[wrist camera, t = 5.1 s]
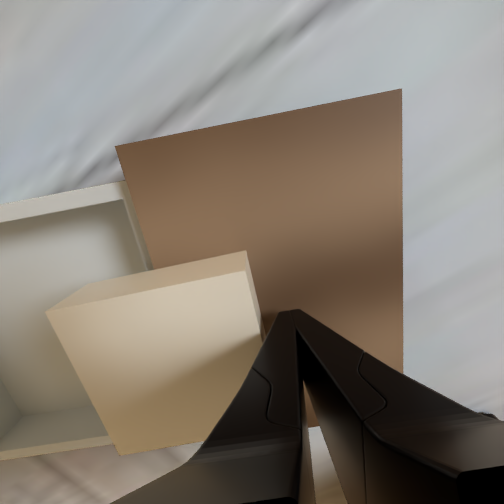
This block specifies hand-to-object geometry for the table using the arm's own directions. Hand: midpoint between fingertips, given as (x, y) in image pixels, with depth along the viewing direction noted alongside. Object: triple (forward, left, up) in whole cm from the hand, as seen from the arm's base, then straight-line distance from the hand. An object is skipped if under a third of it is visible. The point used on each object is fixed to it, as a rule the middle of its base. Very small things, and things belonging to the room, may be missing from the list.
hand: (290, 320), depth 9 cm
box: (0, +11, -4) cm, 11 cm away
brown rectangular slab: (0, 0, -4) cm, 4 cm away
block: (0, +4, -1) cm, 4 cm away
